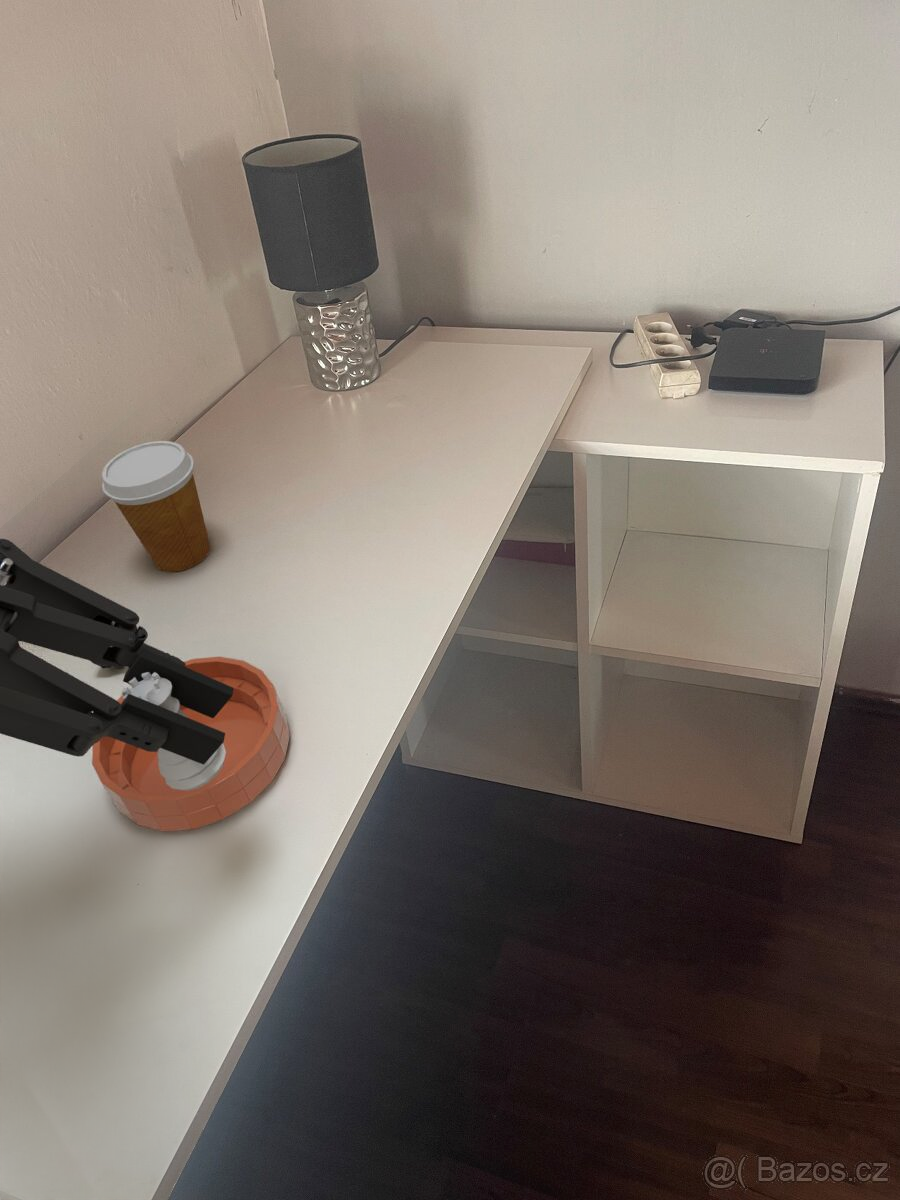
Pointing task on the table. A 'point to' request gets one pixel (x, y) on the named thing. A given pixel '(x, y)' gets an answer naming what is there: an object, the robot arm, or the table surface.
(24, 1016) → the table surface
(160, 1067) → the table surface
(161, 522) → the disposable coffee cup
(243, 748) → the bowl
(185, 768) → the rook chess piece
